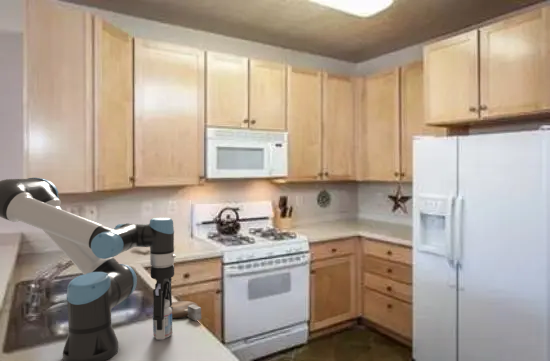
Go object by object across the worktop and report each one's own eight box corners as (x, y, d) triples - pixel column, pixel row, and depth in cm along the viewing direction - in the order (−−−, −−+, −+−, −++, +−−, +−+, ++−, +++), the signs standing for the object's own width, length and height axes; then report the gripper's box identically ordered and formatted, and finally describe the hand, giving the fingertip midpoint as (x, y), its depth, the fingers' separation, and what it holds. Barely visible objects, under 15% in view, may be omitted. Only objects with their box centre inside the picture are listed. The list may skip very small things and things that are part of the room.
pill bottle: (162, 329, 130) (162, 297, 130) (176, 333, 127) (175, 300, 127) (149, 336, 125) (148, 302, 124) (163, 340, 122) (162, 305, 121)
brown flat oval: (153, 312, 146) (153, 301, 146) (184, 302, 157) (184, 292, 157) (182, 325, 133) (181, 314, 133) (213, 314, 143) (213, 303, 143)
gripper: (166, 272, 116) (167, 347, 116) (180, 257, 135) (181, 322, 135) (141, 273, 115) (142, 347, 116) (159, 258, 134) (160, 322, 135)
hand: (163, 333), depth 126 cm, fingers closed on pill bottle, 6 cm apart
